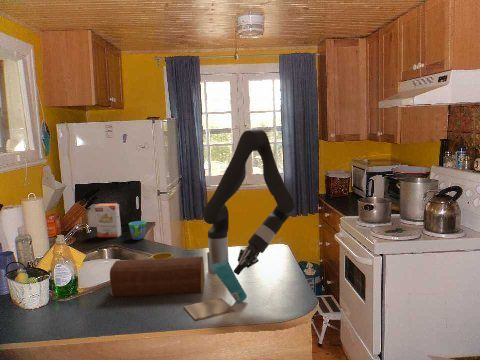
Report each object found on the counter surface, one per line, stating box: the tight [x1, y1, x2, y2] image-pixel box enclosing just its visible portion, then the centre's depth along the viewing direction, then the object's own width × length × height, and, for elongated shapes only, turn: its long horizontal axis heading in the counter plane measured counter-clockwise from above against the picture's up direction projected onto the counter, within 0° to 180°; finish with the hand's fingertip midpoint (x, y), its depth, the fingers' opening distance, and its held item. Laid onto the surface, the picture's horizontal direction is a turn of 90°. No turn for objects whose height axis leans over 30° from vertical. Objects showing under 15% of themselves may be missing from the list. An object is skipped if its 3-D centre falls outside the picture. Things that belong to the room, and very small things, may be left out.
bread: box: [109, 256, 206, 298], centre depth 198 cm, size 16×39×13 cm, turn 91°
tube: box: [210, 259, 248, 304], centre depth 178 cm, size 7×5×19 cm, turn 85°
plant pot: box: [150, 252, 174, 259], centre depth 215 cm, size 10×10×10 cm
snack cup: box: [128, 220, 147, 241], centre depth 283 cm, size 16×10×10 cm
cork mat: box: [183, 297, 235, 321], centre depth 175 cm, size 16×13×1 cm
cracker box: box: [94, 203, 122, 238], centre depth 291 cm, size 14×6×21 cm, turn 81°
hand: (235, 273), depth 179 cm, fingers closed
